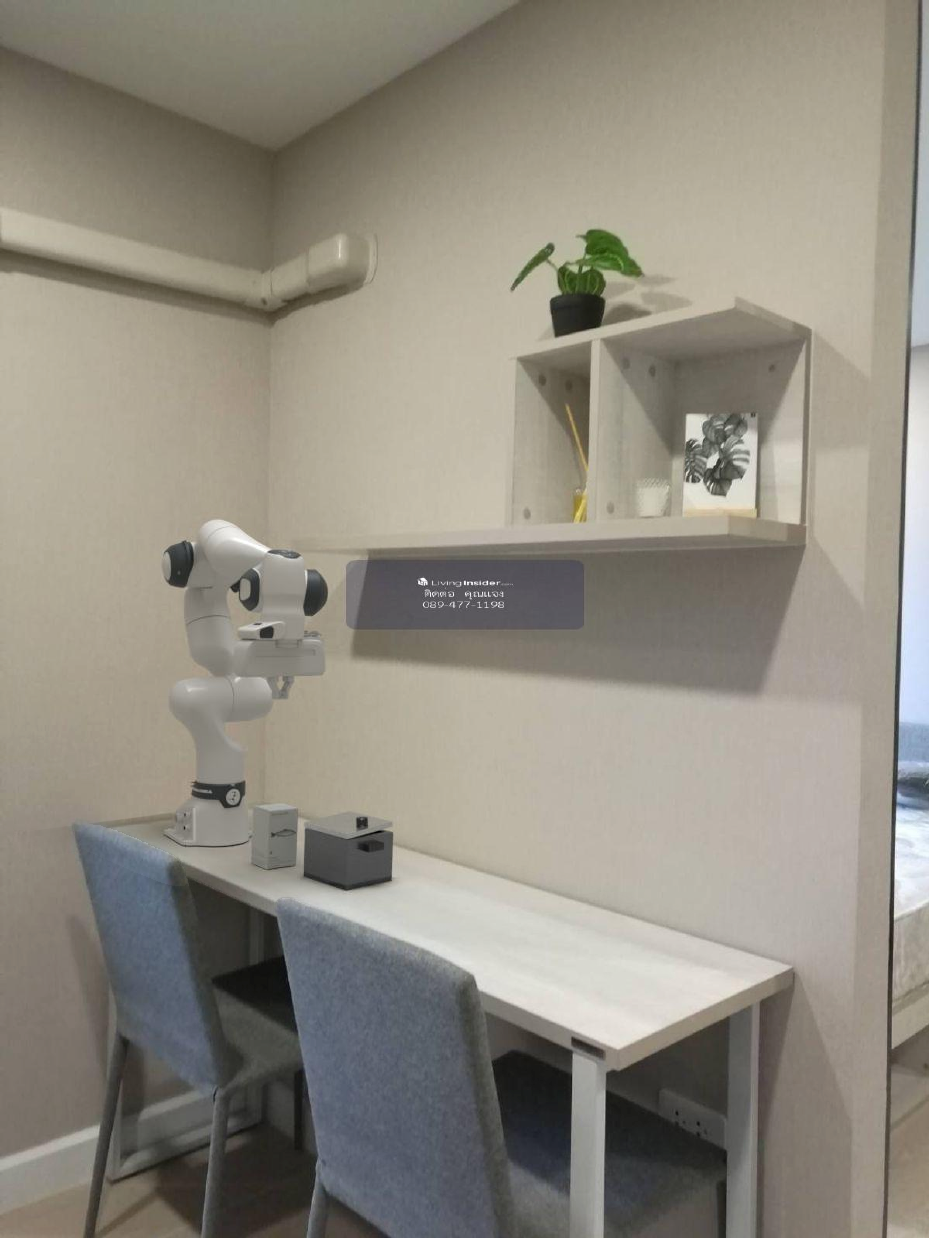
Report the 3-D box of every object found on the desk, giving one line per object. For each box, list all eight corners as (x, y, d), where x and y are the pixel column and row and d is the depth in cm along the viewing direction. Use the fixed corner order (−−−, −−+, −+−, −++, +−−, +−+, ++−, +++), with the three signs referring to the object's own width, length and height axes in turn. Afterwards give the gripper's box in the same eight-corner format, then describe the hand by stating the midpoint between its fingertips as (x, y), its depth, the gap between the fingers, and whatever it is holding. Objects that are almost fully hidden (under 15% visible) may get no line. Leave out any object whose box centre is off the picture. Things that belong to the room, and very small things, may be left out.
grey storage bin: (298, 874, 206) (299, 826, 206) (343, 865, 214) (344, 819, 214) (352, 892, 194) (353, 841, 194) (397, 882, 202) (399, 833, 202)
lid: (304, 827, 204) (303, 814, 204) (349, 815, 213) (349, 803, 213) (347, 839, 195) (346, 826, 195) (392, 826, 203) (392, 813, 203)
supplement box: (266, 870, 208) (268, 810, 208) (250, 863, 214) (252, 804, 214) (297, 865, 213) (299, 807, 213) (280, 858, 219) (282, 801, 219)
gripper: (314, 630, 208) (312, 696, 208) (230, 629, 193) (227, 699, 193) (332, 631, 203) (330, 698, 203) (248, 630, 189) (245, 702, 189)
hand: (279, 699), depth 198 cm, fingers closed
